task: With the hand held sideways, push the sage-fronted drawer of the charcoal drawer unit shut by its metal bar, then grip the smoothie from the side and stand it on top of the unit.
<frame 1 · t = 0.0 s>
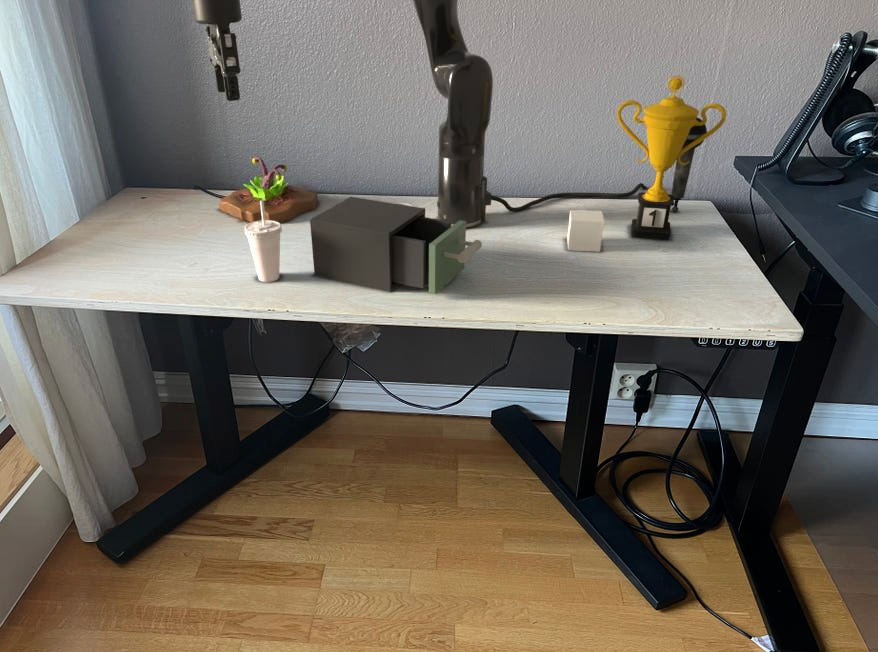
hand: (228, 95, 122), 29 cm above the table, tool pointing down, fingers open, 8 cm apart
plant: (269, 208, 162), on the table
trophy: (649, 233, 145), on the table
off-white cube: (583, 246, 139), on the table
drawer: (423, 252, 124), point 5 cm above the table, slide at 7.0 cm
cabinet: (370, 269, 131), on the table
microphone: (674, 212, 155), on the table
smoothie: (269, 278, 128), on the table
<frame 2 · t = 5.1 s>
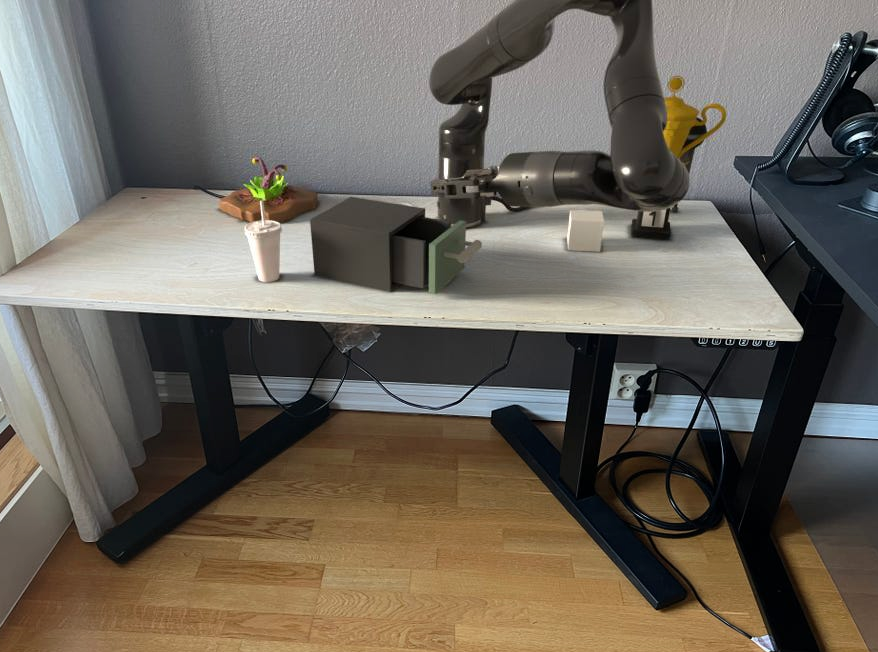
hand: (450, 182, 111), 20 cm above the table, tool horizontal, fingers open, 8 cm apart
nothing on the table moved.
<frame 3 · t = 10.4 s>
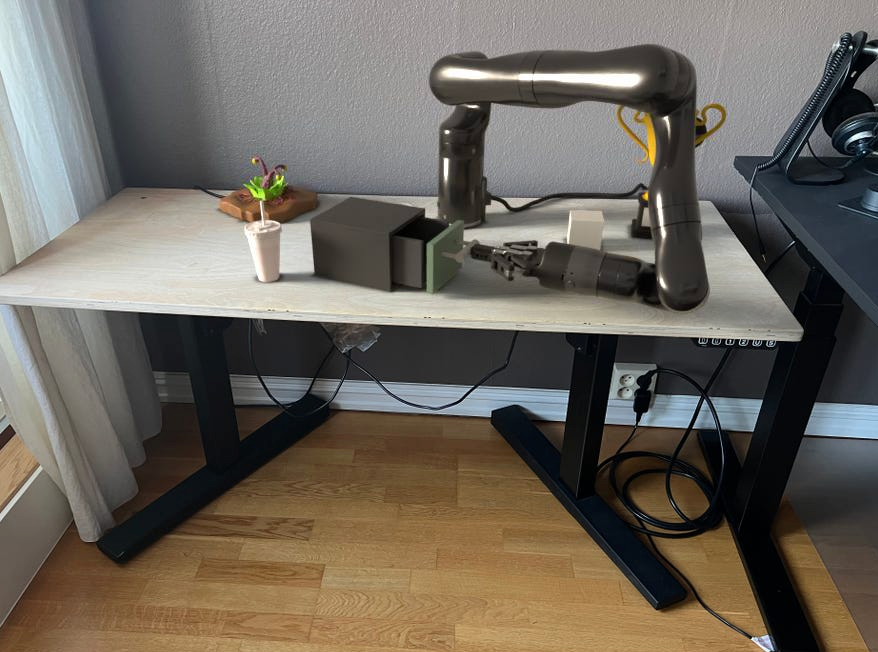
hand: (472, 250, 119), 7 cm above the table, tool horizontal, fingers closed
drawer: (421, 251, 124), point 5 cm above the table, slide at 6.6 cm, touching gripper
everything else where it was.
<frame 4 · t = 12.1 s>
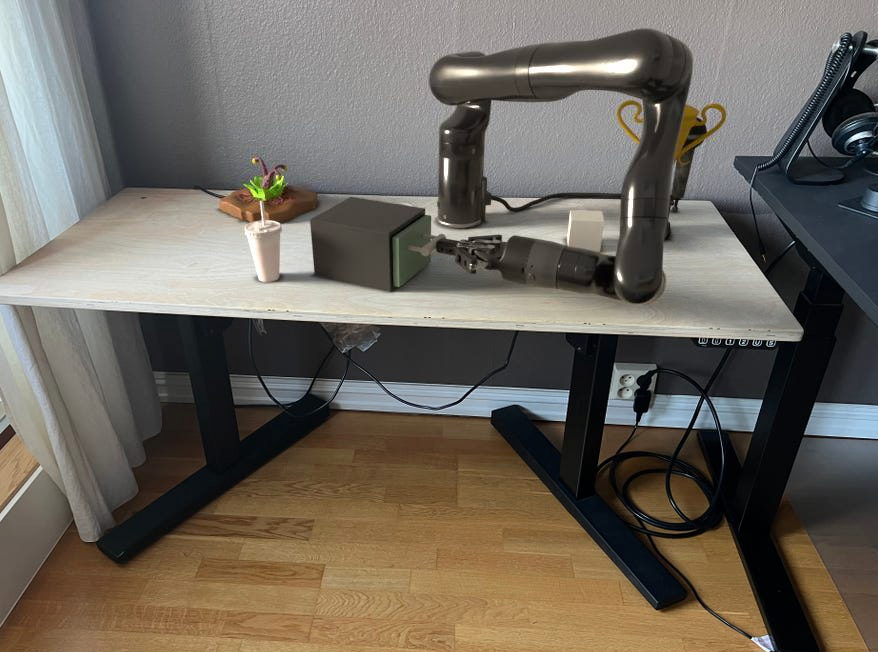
hand: (438, 245, 122), 7 cm above the table, tool horizontal, fingers closed
drawer: (389, 245, 126), point 5 cm above the table, slide at 0.3 cm, touching gripper
everything else where it was.
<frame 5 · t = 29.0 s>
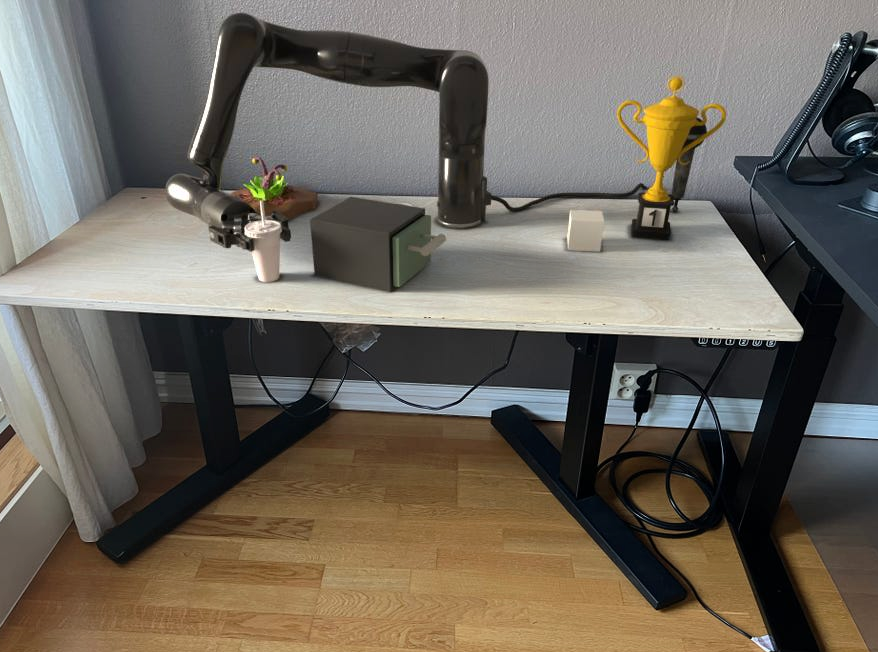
hand: (270, 240, 123), 8 cm above the table, tool horizontal, fingers closed on smoothie, 6 cm apart
drawer: (389, 245, 126), point 5 cm above the table, slide at 0.3 cm
smoothie: (269, 278, 128), on the table, touching gripper
everything else where it was.
when the fingers open (18 cm above the table, at t = 38.0 s): smoothie stays where it is, resting on cabinet.
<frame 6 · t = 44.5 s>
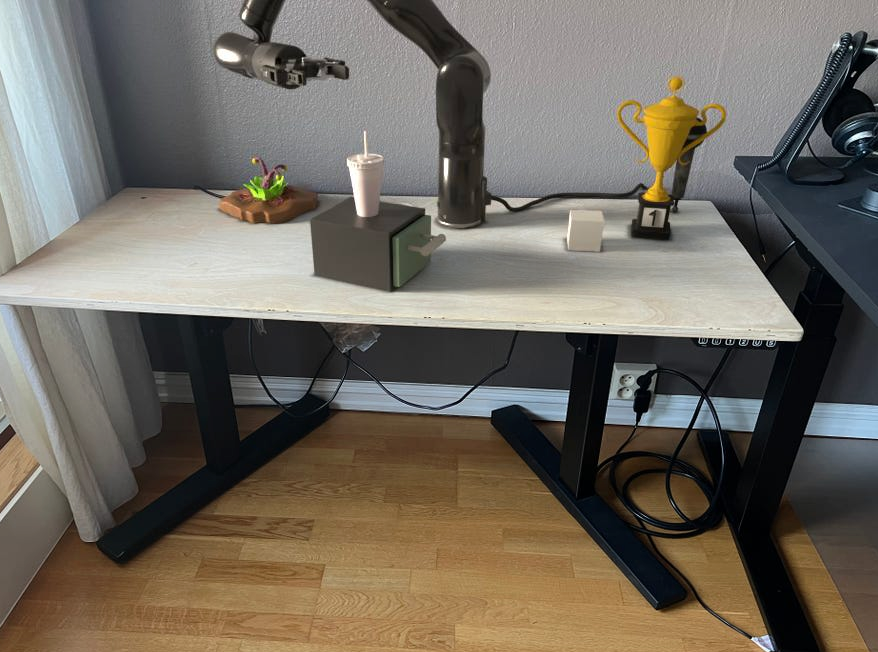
hand: (326, 76, 122), 32 cm above the table, tool horizontal, fingers open, 8 cm apart
smoothie: (367, 214, 126), point 10 cm above the table, touching cabinet
everything else where it was.
at the end: drawer slide at 0.3 cm; smoothie inside the target area on the cabinet (0.1 cm from its centre), point 10.4 cm above the cabinet's base; smoothie tilted 0° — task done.
